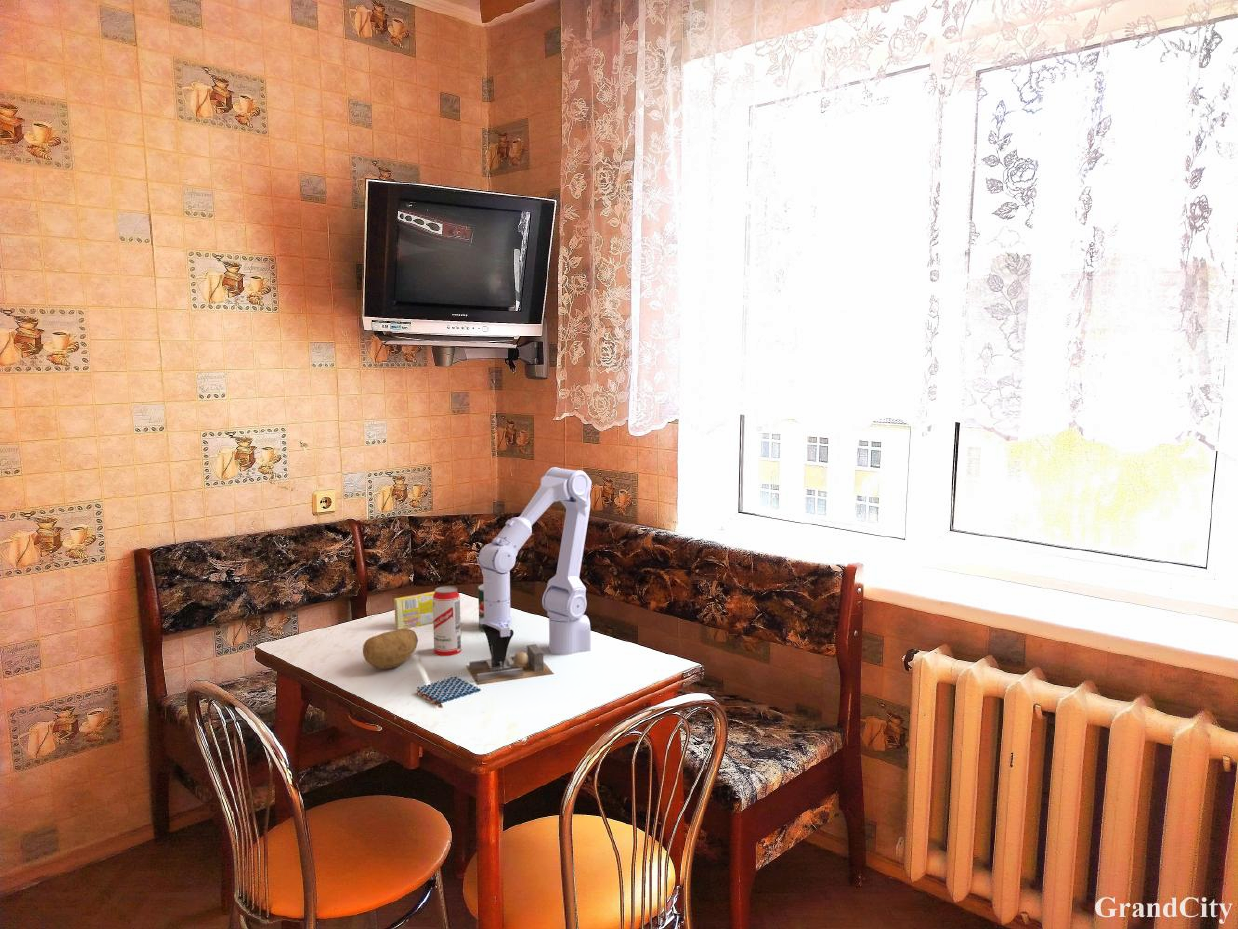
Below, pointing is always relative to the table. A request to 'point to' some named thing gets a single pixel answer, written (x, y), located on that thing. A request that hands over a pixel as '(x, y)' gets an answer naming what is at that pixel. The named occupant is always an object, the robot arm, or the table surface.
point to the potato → (390, 648)
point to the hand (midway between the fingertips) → (498, 658)
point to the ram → (499, 663)
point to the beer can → (446, 621)
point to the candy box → (413, 610)
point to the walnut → (521, 660)
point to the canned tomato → (481, 604)
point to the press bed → (531, 670)
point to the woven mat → (446, 690)
